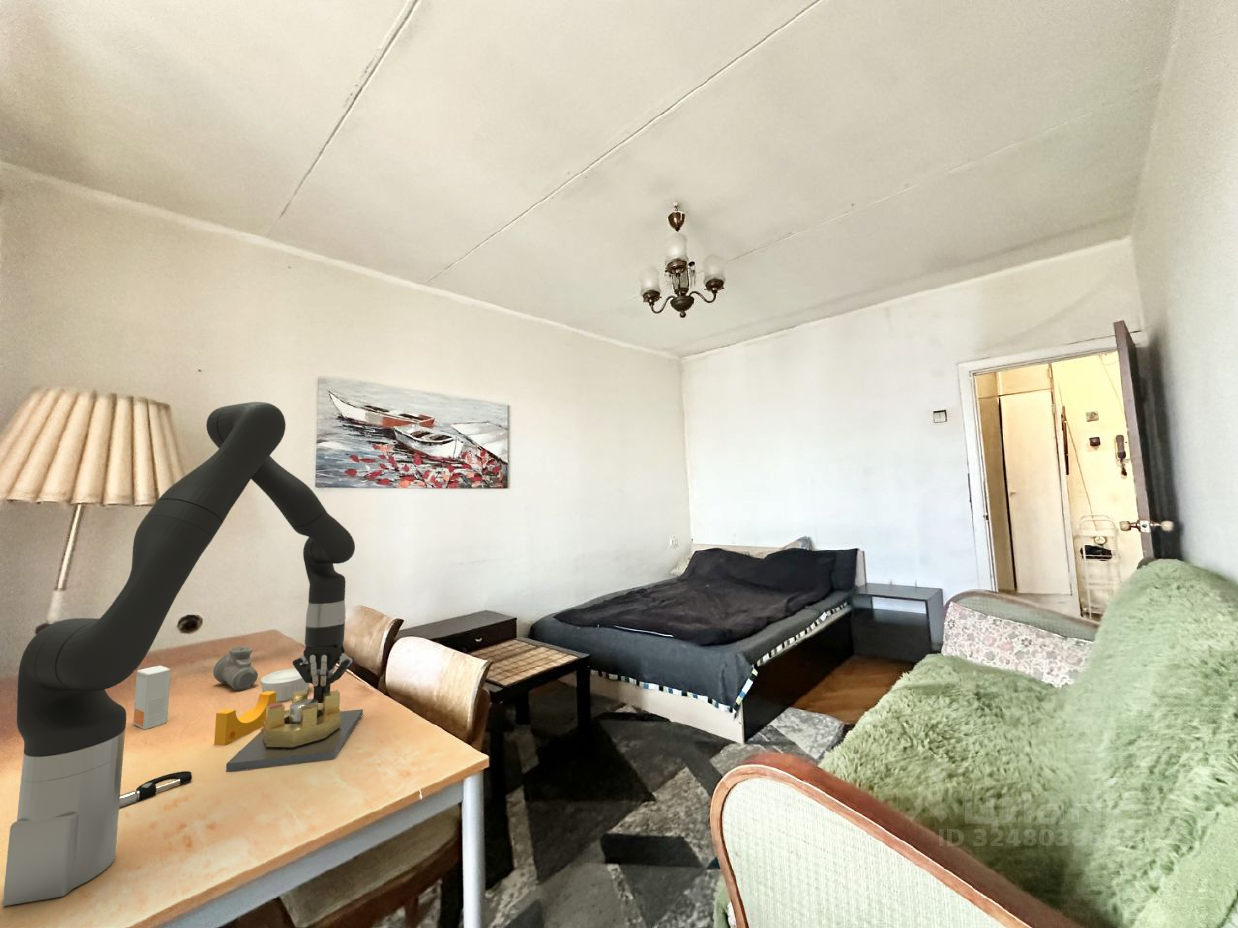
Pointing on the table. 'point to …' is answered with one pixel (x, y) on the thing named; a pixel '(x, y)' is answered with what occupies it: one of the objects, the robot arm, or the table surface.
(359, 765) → the table surface
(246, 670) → the pipe fitting
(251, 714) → the pipe clamp
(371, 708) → the table surface
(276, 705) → the ring nut
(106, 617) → the robot arm
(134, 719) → the skincare box
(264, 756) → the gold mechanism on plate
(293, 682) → the ramekin
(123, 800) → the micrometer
